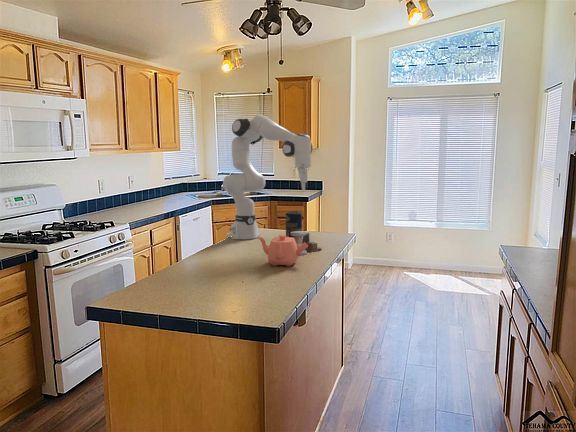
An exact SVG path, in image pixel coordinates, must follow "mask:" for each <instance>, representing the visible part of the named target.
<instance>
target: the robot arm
mask: <svg viewBox="0 0 576 432" xmlns="http://www.w3.org/2000/svg"><path fill="white" fill-rule="evenodd" d="M231 131H232V133H233V134H234V135H235V136H236V137H234V138H233V139H232V143H231V158H232V166H233V168H235V169H236V171H240V172H241V173H237V174H234V173H233V174H229V175H226V176H224V178H223V180H222V187H223V189H224V190H225V192H226V193H228V194H229V195H230V196H231V197H232V198H233V200H234V203H235V209H236V212H235V213H236V214H235V215H234V217H235V219H234V220H235V221H234V222H233V223H232V224H231V225H230V227H229V231H230V232H228V233H226V236H227V237H229V238H230V239H232V240H251V239H258V238H257V237H260V236H261V234H260V233H259V227H258V222H256V220H257V217H256V214H255V202H254V200H253V199H252V198H249V197H248V196H245V193H252V192H253V193H254V192H259V191H263V190H264V188H265V187H266V184H267V183H266V179H265V177H264V175H263V174H261V173H260V172H258V171H257V169H255V167H254V166H253V164H252V163H253V162H252V159H251V151H250V146H251V145H253V146H254V145H255V144H257V143H259V142H260V141H262V140H263V138H264V139H266V140H267V141H279V142H280V141H281V142H283V144H282V146H281V147H282V149H281V150H282V153H283V155H284V156H285V157H287V158H294V159H295V160H294V163H295V164H294V167H295V168H297V171H298V178H299V181H300V188H301V191H306V185H307V184H306V183H308V171H309V170H310V168H312V156H311V155H312V151H313V149H314V148H313V144H312V141H311V137H310V135H309V134H307V133H297V134H295V132H292V131H291V130H288V129H287V128H285V127H283V126H281V125H280V124H278V123H276V122H275V121H273V120H272V119H270V118H269V117H267V116H265V115H263V114H258V115H255V116H254V117H253V118H252V119H251V120H249V119H248V118H236V119H235V121H234V122H233V123H232V125H231ZM231 236H232V237H231Z"/></svg>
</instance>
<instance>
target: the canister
mask: <svg viewBox="0 0 576 432" xmlns="http://www.w3.org/2000/svg"><path fill="white" fill-rule="evenodd" d="M302 221H303V214H302V212H300V211H297V210H292V211H287V212H286V213H285V226H284V227H285V235H286V237H293V238H294V239H295V236H291V235H290V233H291V232H294V231H303V224H302V223H303V222H302Z"/></svg>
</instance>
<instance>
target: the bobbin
mask: <svg viewBox="0 0 576 432" xmlns="http://www.w3.org/2000/svg"><path fill="white" fill-rule="evenodd" d="M290 235H291V236H295V242H296V245H297V249H298V248H299V247H300V246H301V245H302V239H303V236H305V235H307V234H306V232H304V230H302V231H294V232H291V233H290ZM307 254H308V251H306V250H303V251H302V252H301V253H300V254H299V255H298V256H305V255H307Z"/></svg>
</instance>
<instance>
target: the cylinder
mask: <svg viewBox="0 0 576 432" xmlns="http://www.w3.org/2000/svg"><path fill="white" fill-rule="evenodd" d="M303 231H304V230H303ZM304 232H306V234H307V235H305V236H302V239H303V243H304V242H305V243H306V244H307V242H310V231H308V230H307V231H306V230H305V231H304Z"/></svg>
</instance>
